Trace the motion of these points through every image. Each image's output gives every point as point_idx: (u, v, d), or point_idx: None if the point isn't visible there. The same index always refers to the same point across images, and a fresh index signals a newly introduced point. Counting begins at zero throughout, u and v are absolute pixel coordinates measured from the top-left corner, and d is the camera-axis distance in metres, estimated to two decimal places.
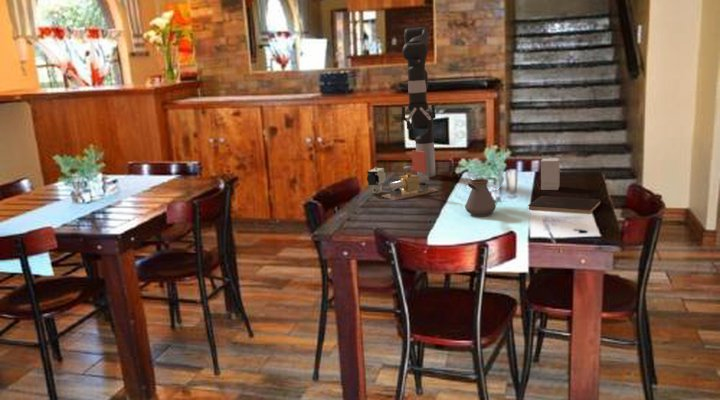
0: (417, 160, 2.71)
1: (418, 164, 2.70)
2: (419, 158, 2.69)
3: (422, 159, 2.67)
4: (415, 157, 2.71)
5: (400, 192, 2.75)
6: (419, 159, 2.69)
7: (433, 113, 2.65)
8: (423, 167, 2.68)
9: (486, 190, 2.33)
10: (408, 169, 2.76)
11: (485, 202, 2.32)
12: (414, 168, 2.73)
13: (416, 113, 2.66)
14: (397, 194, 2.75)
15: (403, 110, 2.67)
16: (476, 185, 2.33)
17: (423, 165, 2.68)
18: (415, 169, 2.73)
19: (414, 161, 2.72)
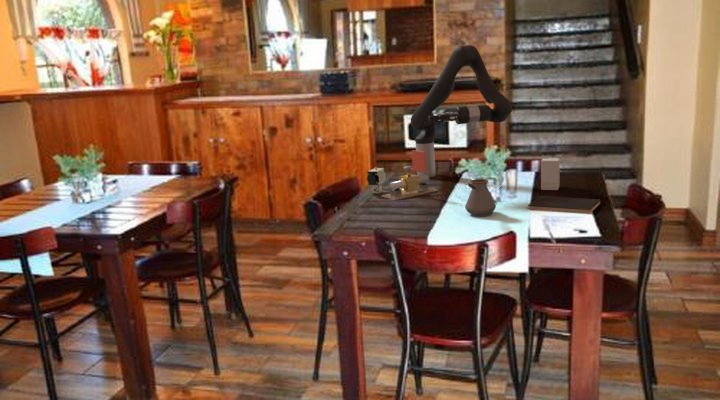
0: (417, 160, 2.71)
1: (418, 164, 2.70)
2: (419, 158, 2.69)
3: (422, 159, 2.67)
4: (415, 157, 2.71)
5: (400, 192, 2.75)
6: (419, 159, 2.69)
7: None
8: (423, 167, 2.68)
9: (486, 190, 2.33)
10: (408, 169, 2.76)
11: (485, 202, 2.32)
12: (414, 168, 2.73)
13: None
14: (397, 194, 2.75)
15: (450, 120, 2.63)
16: (476, 185, 2.33)
17: (423, 165, 2.68)
18: (415, 169, 2.73)
19: (414, 161, 2.72)
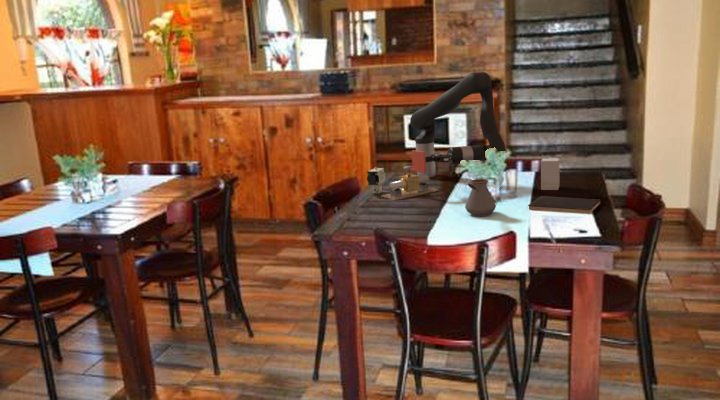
0: (417, 160, 2.71)
1: (418, 164, 2.70)
2: (419, 158, 2.69)
3: (422, 159, 2.67)
4: (415, 157, 2.71)
5: (400, 192, 2.75)
6: (419, 159, 2.69)
7: None
8: (423, 167, 2.68)
9: (486, 190, 2.33)
10: (408, 169, 2.76)
11: (485, 202, 2.32)
12: (414, 168, 2.73)
13: None
14: (397, 194, 2.75)
15: None
16: (476, 185, 2.33)
17: (423, 165, 2.68)
18: (415, 169, 2.73)
19: (414, 161, 2.72)
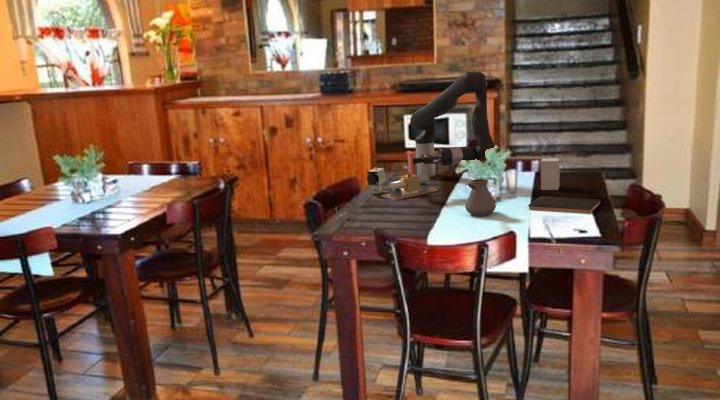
0: (409, 161, 2.70)
1: (409, 165, 2.70)
2: (409, 159, 2.68)
3: (410, 161, 2.66)
4: (408, 158, 2.71)
5: (400, 192, 2.75)
6: (409, 161, 2.68)
7: None
8: (410, 168, 2.66)
9: (486, 190, 2.33)
10: (406, 169, 2.77)
11: (485, 202, 2.32)
12: (408, 169, 2.73)
13: None
14: (397, 194, 2.75)
15: None
16: (476, 185, 2.33)
17: (410, 167, 2.66)
18: (408, 170, 2.72)
19: (408, 162, 2.72)
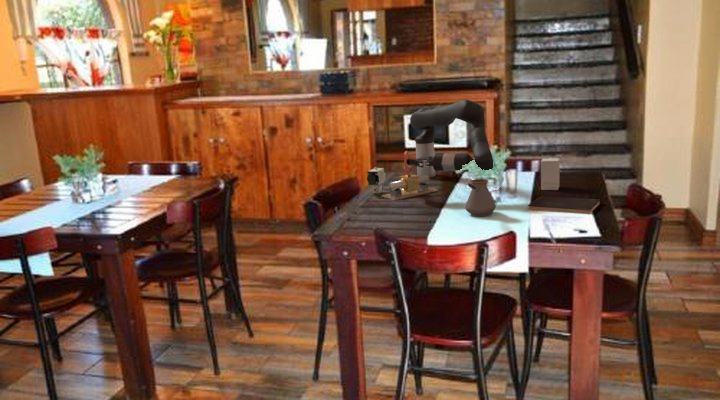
0: None
1: None
2: None
3: (404, 161, 2.66)
4: None
5: (400, 192, 2.75)
6: None
7: None
8: (404, 169, 2.67)
9: (486, 190, 2.33)
10: None
11: (485, 202, 2.32)
12: None
13: None
14: (397, 194, 2.75)
15: None
16: (476, 185, 2.33)
17: (404, 167, 2.66)
18: None
19: None
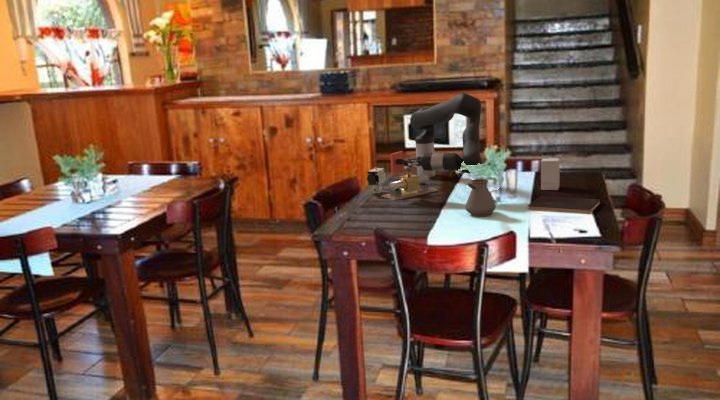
0: None
1: None
2: None
3: None
4: None
5: (400, 192, 2.75)
6: None
7: None
8: None
9: (486, 190, 2.33)
10: None
11: (485, 202, 2.32)
12: None
13: None
14: (397, 194, 2.75)
15: None
16: (476, 185, 2.33)
17: None
18: None
19: None
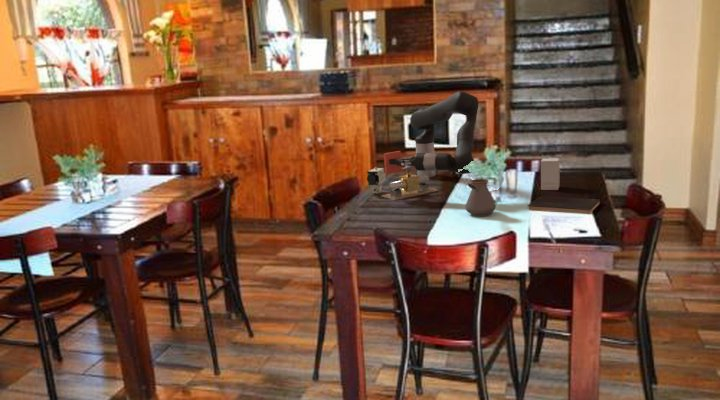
0: None
1: None
2: None
3: None
4: None
5: (400, 192, 2.75)
6: None
7: None
8: None
9: (486, 190, 2.33)
10: None
11: (485, 202, 2.32)
12: None
13: None
14: (397, 194, 2.75)
15: None
16: (476, 185, 2.33)
17: None
18: None
19: None
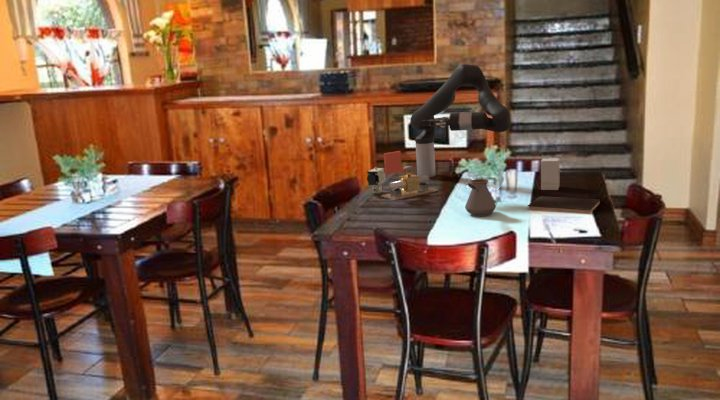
0: None
1: None
2: None
3: None
4: None
5: (400, 192, 2.75)
6: None
7: None
8: None
9: (486, 190, 2.33)
10: None
11: (485, 202, 2.32)
12: None
13: None
14: (397, 194, 2.75)
15: (437, 126, 2.61)
16: (476, 185, 2.33)
17: None
18: None
19: None
